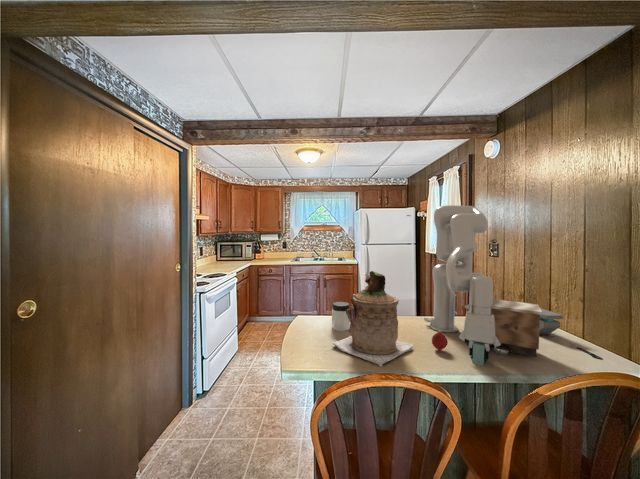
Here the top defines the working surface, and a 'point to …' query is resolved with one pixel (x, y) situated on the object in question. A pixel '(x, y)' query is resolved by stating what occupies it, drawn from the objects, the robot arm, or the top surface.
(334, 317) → the jar
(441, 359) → the top surface
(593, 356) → the cleaver
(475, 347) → the sage green block
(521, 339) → the cabinet
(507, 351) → the grey flat rounded lump
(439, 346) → the onion
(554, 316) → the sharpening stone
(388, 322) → the cookie jar
